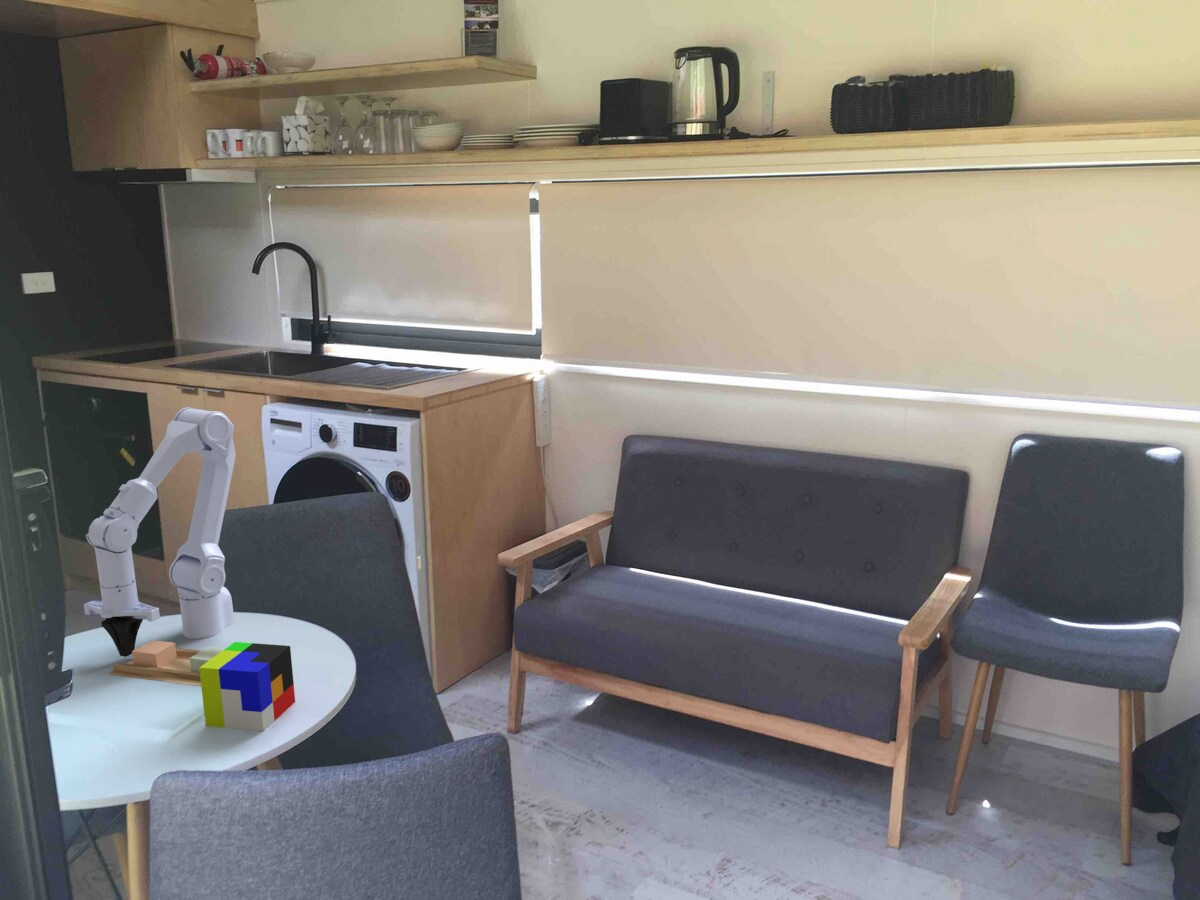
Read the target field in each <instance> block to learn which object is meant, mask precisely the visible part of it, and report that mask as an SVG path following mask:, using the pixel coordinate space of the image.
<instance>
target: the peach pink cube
mask: <svg viewBox="0 0 1200 900" xmlns="http://www.w3.org/2000/svg"><path fill="white" fill-rule="evenodd" d="M176 648H177V647H176V642H171V641H162V640H155V639H154V640H153V639H151V640H150V641H148V642H146V643H144V644H143V645H141V646H139V647H137V648H135V649H134V650H133V651H132V654H131V656H132V660H133V664H134V665H139V666H148V667H156V668H162V667H164V666H165V665H167V664H168V663H170V662H172V661H173V660H175V659H177V655H176Z"/></svg>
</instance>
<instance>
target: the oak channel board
mask: <svg viewBox="0 0 1200 900" xmlns="http://www.w3.org/2000/svg"><path fill="white" fill-rule="evenodd" d="M224 649H226V648H225V647H216V646H207V647H206V648H203V649H202V650H199V649H198V650H197V649H188V648H180V647H176V655H177V659H175V660H173V661H172V662H170V663H168V664H167V665H165V666H164V667H162V668H156V667H148V666H139V665H134V664H133V659H131V660H129V661H128V662H126V663H124V662H123V663H122V662H117V663H115V664H113V670H112V671H111V672H109V673H108V675H111V676H116V677H117V676H118V677H126V678H135V679H140V680H141V679H143V680H149V681H158V682H166V683H172V684H173V683H174V684H181V685H188V686H189V685H190V686H196V687H197V686H198V687H201V679H200V670H199V667H201V666H202V665H204V664H205V663H206V662H208V661H209V660H210V659H212V658H213V657H215V656H216V655H217V654H219V653H220V652H221V651H223V650H224Z"/></svg>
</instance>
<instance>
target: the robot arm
mask: <svg viewBox="0 0 1200 900" xmlns="http://www.w3.org/2000/svg"><path fill="white" fill-rule="evenodd" d="M234 430H235V426H234V424H233V423H232V421H231V420H230V419H229V417H228V416H227V415H226V414H224V413H223V412H221V411H217V410H216V411H215V410H214V411H213V410H211V411H210V410H205V409H198V408H197V409H196V408H194V407H189V406H188V407H184V408H181V409H180V410H178V411H177V412H176V414H175V415H174V417H173V419H172V420H171V421H170V422H169V423H167V427H166V432H165V435H164V438H163V439H162V441H161V442H160V443H159V446H158V447H157V448H156V450H155V451H154V454H153V455H152V456H151V458H150V460H149V461H148V462H147V464H146V466H145V468H144V469H143V471H142V472H141V473H140V475H139V476H138V477H137V478H134V479H129V480H128V481H127V482H126V483H124V484H121V485H120V487H119V488H118V491H119V493H118V495H116V497H115V498H114V500H113V501H112V502H111V504H110V505H109V507H108V508H105V510H104V511H103V515H101V516H99V517H97V518H95V519H94V520H93V521H92V522H91V524H90V525H89V527H88V533H86V534H85V538H86V540H87V542H88V543H89V545H91V546H92V547H93V548H94V553H95V557H96V567H97V573H98V581H99V588H100V595H101V600H91V601H89V602H86V603H84V604H83V610H84V614H85V615H86V616H91V615H92V614H93V615H99V616H100V617H101V618H104V620H102V621H101V627H102V628H103V629H104V630H105V631H106V632H107V633H108V635H109V637H110V638H111V639H112V641H113V644H114V645H115V647H116V649H117V652H118V654H119V656H120V657H124V658H126V657H129V656H130V655H132V651H133V650H135V649H136V648H135V647H136V641H137V636H138V632H139V629H140V627H141V624H142V623H143V620H147V622H150V623H151V622H154V621H156V620H159V619H161V618H160V617H161V615H160V608H159V607H156V606H152V605H149V604H147V603H143V602H141V601H139V597H138V589H137V581H136V573H135V572H136V571H135V566H134V559H133V558H134V557H133V552H132V546H133V545H134V544H135V543H136V541H137V539H138V530H139V527H140V523H141V522H142V520H143V519H144V518H145V516H146V515H147V514H148V512H149V511H150V510H151V508H152V507H153V505H155V503H156V501H157V499H158V498H159V497H158V492H157V491H158V489H157V488H158V487H159V485H160V484H161V483H162V482H163V480H164V479H165V478H166V477H167V475H168V474H169V473H170V472H171V470H173V469H174V467H175V466H176V465H177V463H178V462H179V461H180V459H182V457H183V455H185V454H188V453H192V452H197V454H198V455H199V456H200V458H201V459H202V461H203V463H202V467H201V473H200V477H199V482H198V487H197V492H196V497H195V502H194V508H193V512H192V516H191V517H192V518H191V521H190V526H189V533H188V537H187V540H186V542H185V543H184V544H182V545H181V546H179V548H178V549H177V553H176V556H175V558H174V560H173V562H172V563H171V565H170V566H169V570H168V578H169V581H170V583H171V584H172V585H173V586H175V587H176V589H177V593H178V598H179V599H178V600H179V607H180V608H179V609H180V616H181V617H180V618H181V624H182V633H183V636H184V637H185V638H186V639H193V640H197V639H198V640H199V639H206V638H210V637H214V636H217V635H218V634H221V632H223V631H224V630H225V629H226V628H227V627H229V626H231V625H232V624H233V623H235V618H234V617H235V616H234V607H233V599H232V595H231V593H230V591H229V590H228V588H227V587H225V586H224V585H225V582H226V577H227V576H226V571H225V561H226V558H225V557H226V556H225V555H224V554H223V551H222V550H221V548H220V547H219V542H220V537H221V531H222V528H223V526H222V525H223V521H224V516H225V511H226V507H227V503H228V496H229V492H230V486H231V482H232V477H233V471H234V466H235V461H236V454H237V453H236V448H235V445H234V443H235V442H234V439H233V435H234Z"/></svg>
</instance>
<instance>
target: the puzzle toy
mask: <svg viewBox="0 0 1200 900" xmlns="http://www.w3.org/2000/svg"><path fill="white" fill-rule="evenodd" d="M291 651H292V650H291V645H283V644H281V645H280V644H267V643H255V642H253V643H252V642H241V641H233V642H232V643H231V644H230V645H228V646H227V647H226V648H225V649H224V650H223V651H221V652H220V653H219V654H217V655H216V656H215V657H213V658H212V659H210V660H209V661H208V662H206V663H205V664H204V665H202V666H201V667H199V670H200V679H201V686H200V687H201V695H202V697H201V698H202V705H203V712H204V722H205V723H204V724H205V727H211V728H212V727H213V728H221V729H232V730H233V729H235V730H246V731H255V732H256V731H257V732H265V731H266V730H267V729H268V728H269V727H270V726H271V725H272V724H273V723H275V722H276V720H277V719H279V718H280V717H281V716H282V715H283V714H284V713H285V712H286V711H287V710H288V709H289V708H290V707H292V706H293V705H294V704H295V703H296V695H295V693H296V692H295V686H294V685H295V684H294V683H295V682H294V675H293V674H294V673H293V663H292V652H291Z"/></svg>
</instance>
